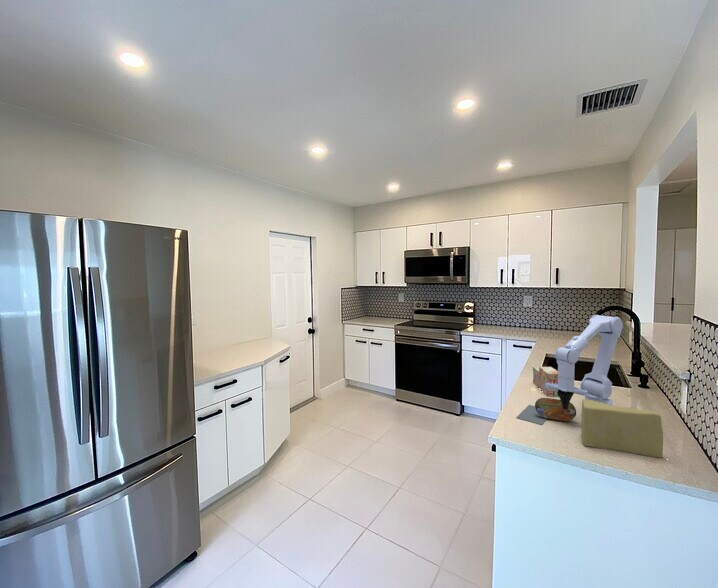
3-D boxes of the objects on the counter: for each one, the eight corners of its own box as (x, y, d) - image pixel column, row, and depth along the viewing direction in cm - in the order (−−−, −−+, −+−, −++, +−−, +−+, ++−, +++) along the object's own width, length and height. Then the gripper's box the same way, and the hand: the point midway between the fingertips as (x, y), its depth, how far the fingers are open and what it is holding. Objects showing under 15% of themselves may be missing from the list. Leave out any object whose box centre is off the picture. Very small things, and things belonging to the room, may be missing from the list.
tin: (535, 416, 136) (535, 396, 137) (533, 414, 139) (534, 395, 140) (576, 423, 130) (576, 402, 131) (574, 421, 133) (574, 400, 134)
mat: (553, 411, 143) (553, 410, 143) (542, 425, 130) (542, 424, 130) (528, 405, 150) (529, 404, 150) (516, 418, 137) (516, 417, 137)
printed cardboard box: (532, 382, 181) (533, 361, 180) (544, 383, 180) (545, 362, 179) (547, 397, 160) (547, 373, 159) (560, 397, 159) (561, 373, 158)
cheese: (658, 450, 110) (659, 408, 110) (666, 464, 102) (668, 419, 101) (580, 434, 122) (581, 396, 121) (582, 446, 114) (583, 405, 113)
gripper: (543, 375, 133) (543, 406, 134) (585, 383, 123) (584, 417, 124) (548, 371, 138) (547, 401, 139) (588, 378, 128) (587, 411, 129)
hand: (565, 408), depth 132 cm, fingers closed
